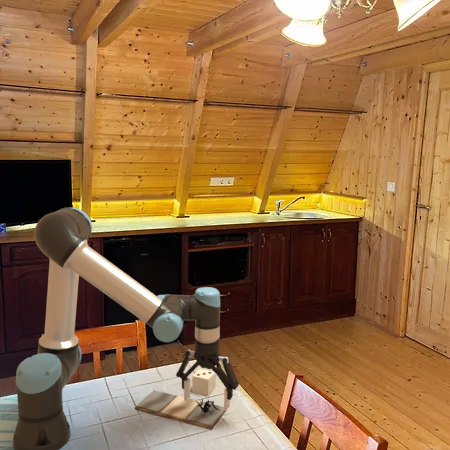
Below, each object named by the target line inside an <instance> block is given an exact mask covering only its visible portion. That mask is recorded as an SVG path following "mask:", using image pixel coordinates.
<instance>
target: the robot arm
mask: <svg viewBox="0 0 450 450" xmlns="http://www.w3.org/2000/svg"><path fill="white" fill-rule="evenodd" d="M92 231H93V224H92V220H91V218H90V217H89V215H88V214H87V213H86V212H84V211H83V210H81V209H79V208H77V207H64V208H60V209H58V210H56V211H53V212H50V213H47V214H45V215H44V216H43V217H42V218H40V219H39V220H38V222H37V224H36V225H35V228H34V231H33V232H34V233H33V235H34V241H35V243H36V246H37V247H38V248H39V250H40V251H41V252H42V253H43V255H44V256H46V257H47V258H48V259H49V263H48V264H49V265H48V268H49V269H48V277H47V278H48V279H47V280H48V281H47V292H46V293H47V294H46V310H45V323H44V334H43V335H42V336H41V337H39V339H38V344H37V345H38V347H37V354H34V355H31V357H27V358H25V359H23V360H22V361H20V363H19V365H18V366H17V369H16V377H15V386H16V395H17V397H16V399H17V408H18V410H17V411H18V419H17V423H16V427H15V431H14V433H13V437H12V441H13V442H12V445H13V450H59V449H61V448H62V447H63V446H65V445H66V444H67V443H68V441H69V440H70V438H71V426H70V424H69V421H68V419H67V416H66V414H65V412H64V403H63V390H64V388H65V386H66V385H67V383H68V382H69V380H70V379H71V378H72V377H73V375H74V374H75V373H76V371H77V370H78V368H79V366H80V364H81V360H82V349H81V347H80V345H79V344H80V343H79V342H80V341H79V340H80V339H79V337H78V336H77V335H76V334H75V331H76V330H75V329H76V328H75V327H76V318H77V317H76V316H77V304H78V303H77V302H78V292H79V291H78V290H79V280H80V279H79V278H80V277H81V278H82V279H84V280H85V281H86V282H88V283H90V284H91V285H92V286H93V287H94V288H96V289H98V290H99V291H101V292H102V293H103V294H105V295H106V296H108V297H109V298H110V299H111V300H113V301H114V302H116V303H117V304H119V305H120V306H121V307H123V308H124V309H125V310H126V311H128V312H130V313H131V314H133V315H134V316H136V318H138V319H139V320H140V321H142V322H143V323H145V324H146V325H148V326H149V327H150V328H152V332H153V334H154V336H155V338H156V339H157V340H159V341H160V342H164V343H171V342H174V341H175V340H176V339H178V338H179V336H180V334H181V332H182V330H183V328H184V321H190V322H191V321H194V338H195V339H194V350H193V348H188V349H187V350H186V351H185V353H184V359H183V360H182V362H181V364H180V365H179V368H178V370H177V372H176V374H175V376H176V377H177V378H180V379H181V389H182V390H183V392H184V393H183V395H184V396H183V397H184V400H185V401H187V400H188V399H191V377H189V376H190V375H191V374H192V373H193V372H194V371H195V370H196V369H197V367H200V369H206V370H211V371H213V372H215V373H216V377H217V378H218V379H219V380H220V381H221V383H222V385H224V387H225V389H224V390H223V391H224V395H223V405H224V406H223V407H224V410H227V411H228V409H229V408H230V407H231V406H230V405H231V404H230V403H231V402H230V401H231V400H232V399H233V395H234V392H233V391H235V390H237V388H238V387H239V386H240V385H239V384H240V383H239V381H238V378H237V376H236V374H235V372H234V370H233V367H232V365H231V361H230V356H229V355H225V356H221V355H220V336H221V333H220V331H221V330H220V329H221V328H220V327H221V326H220V325H221V293H220V291H219V290H218V289H217V288H215V287H210V286H209V287H208V286H204V287H199V288H197V289H196V290H195V292H194V294H191V295H190V294H189V295H187V294H170V293H169V294H168V293H167V294H159V295H155V294H154V293H153V292H151V291H150V290H149V289H148V288H146V287H145V286H143V285H142V284H140V283H139V282H138V281H137V280H135V279H134V278H133V277H131V276H130V275H129V274H127V273H126V272H124V271H123V270H121V269H120V268H119V267H118V266H116V265H115V264H114V263H112V262H111V261H109V260H108V259H107V258H105V257H104V256H102V255H101V254H100V253H98V252H97V251H96V250H95V249H93V248H92V247H90V246H89V245H88V240H89V239H90V237H91V235H92ZM193 357H194V359H195V362H194V363H193V365H191V366H190V367H189V369H188V370H187V371H186V372H185V370H186V368H187V366H188V364H189V362H190V360H191V359H192V358H193Z"/></svg>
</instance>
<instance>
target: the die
mask: <svg viewBox="0 0 450 450" xmlns="http://www.w3.org/2000/svg"><path fill="white" fill-rule="evenodd" d="M216 377H217V374H216V373H215V372H213V370H210V369H205V368H199V369H198V370H197V371H196V372H195V373H193V375H192V378H191V379H192V380H191V381H192V383H191V384H192V390H191V391H192V393H194V394H197V395H202V396H205V397H206V396H207V397H210V395H211V394H212V393H213V391H214V390H215V389H216V382H217V381H216ZM209 394H210V395H209Z"/></svg>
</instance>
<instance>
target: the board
mask: <svg viewBox="0 0 450 450" xmlns="http://www.w3.org/2000/svg"><path fill="white" fill-rule="evenodd" d="M196 401H197V402H199V404H201V403H202V400H197V399H193V398H189V399H188V400H187V401H185V400H184V396H180V395H176V394H173V393H167V392H164V391H161V390H155V389H154V390H152V391H151V392H150V393H149V394H148V395H147V396H146V397H145V398H143V399H142V400H141V401H140V402H138V403H137V405H136V406H134V410H136V411H139V412H143V413H147V414H150V415H154V416H157V417H158V416H159V417H163V418H165V419H166V418H167V419H170V420H174V421H176V422H177V421H178V422H181V423H184V424H189V425H193V426H196V427H200V428H204V429H208V430H213V429H214V427H215V426H216V425H217V424H218V422H219V421H220V420H221V419H222V417H223V416H224V414H225V413H226V412H227V411H228V409H227V410H224V406H221V405H217V404H214V406H215V407H216V408H217V409H220V410H217V409H215V408H214V407H213V405H212V404H211V403H209V404H210V405H212V406H211V407H210V408H209V410H210V411H211V413H212V414H210V411H208V412H207V413H206V414H205V413H204V412H203V411H202V410H201V408H200V406H197V405H199V404H198V403H197V402H196ZM205 402H206V401H203V404H202V405H201V407H204V404H205ZM212 410H213V411H212ZM201 411H202V413H201Z"/></svg>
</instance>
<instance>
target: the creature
mask: <svg viewBox="0 0 450 450" xmlns="http://www.w3.org/2000/svg"><path fill="white" fill-rule="evenodd" d="M210 395H211V394H209V396H210ZM209 399H210V398H209V397H208V400H207V401H204V398H202V399H201V402H202V403H201V404H199V402H197V401H198V400H197V401H196V402H197V403H198V404H199V405H197V406H200V408H201V410H202V411H203V412H204V413H205V414H206V413H207V412H208V411H210V410H209V408H210V407H211V406H212V405H213V407H214V408H215V409H217V408H216V407H215V406H214V405H215V400H213V401H212V400H209ZM203 402H205V404H204V407H201V405H202V404H203ZM209 403H210V404H212V405H210V404H209ZM217 410H220V409H217ZM202 411H201V413H202ZM212 411H213V410H212ZM210 414H212V413H211V411H210Z"/></svg>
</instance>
